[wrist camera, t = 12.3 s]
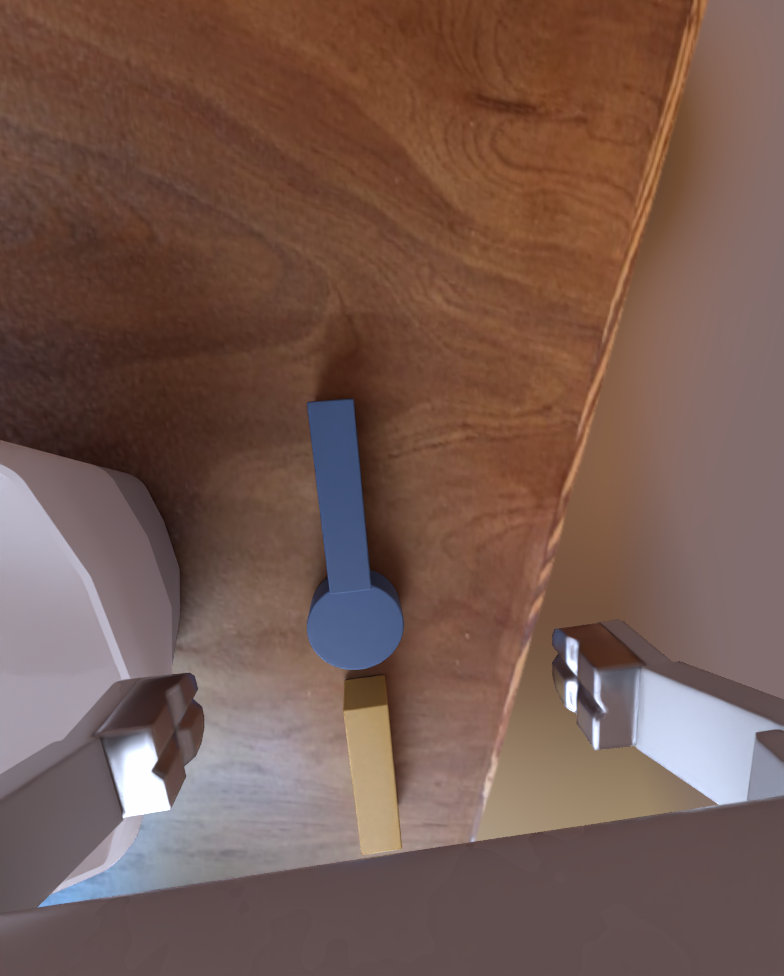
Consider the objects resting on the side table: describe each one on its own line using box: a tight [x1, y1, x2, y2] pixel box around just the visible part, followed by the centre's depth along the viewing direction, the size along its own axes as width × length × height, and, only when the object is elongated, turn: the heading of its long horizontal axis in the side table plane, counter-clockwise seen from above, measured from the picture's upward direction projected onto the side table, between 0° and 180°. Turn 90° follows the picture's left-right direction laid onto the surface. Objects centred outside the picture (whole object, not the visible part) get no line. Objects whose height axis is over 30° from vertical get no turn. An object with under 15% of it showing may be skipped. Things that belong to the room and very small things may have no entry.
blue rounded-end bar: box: [307, 399, 404, 670], centre depth 20 cm, size 14×5×3 cm, turn 4°
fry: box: [343, 675, 402, 855], centre depth 23 cm, size 10×2×2 cm, turn 5°
